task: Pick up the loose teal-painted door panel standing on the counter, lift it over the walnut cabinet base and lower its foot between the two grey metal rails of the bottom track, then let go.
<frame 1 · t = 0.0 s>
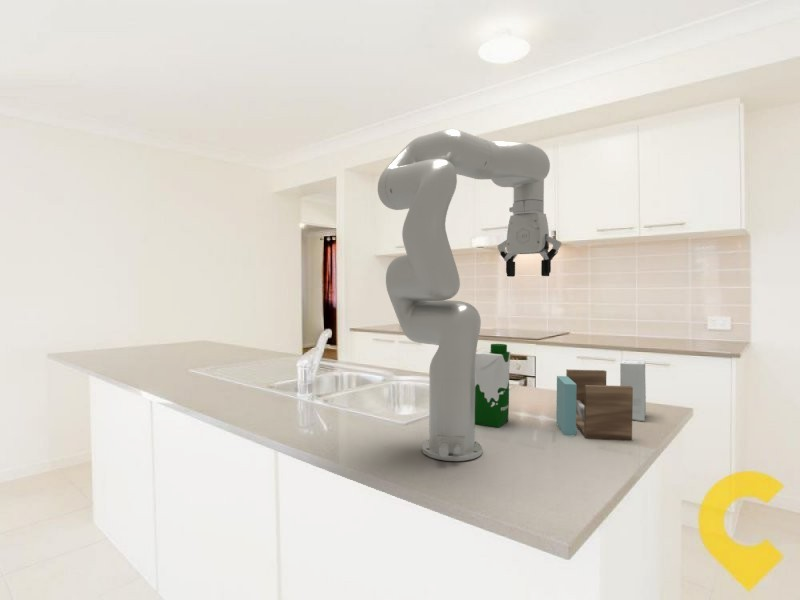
hand: (527, 276, 124), 37 cm above the worktop, tool pointing down, fingers open, 9 cm apart
door panel: (565, 429, 117), on the worktop
milk carton: (490, 423, 122), on the worktop
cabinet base: (595, 425, 120), on the worktop
skincare box: (632, 417, 128), on the worktop
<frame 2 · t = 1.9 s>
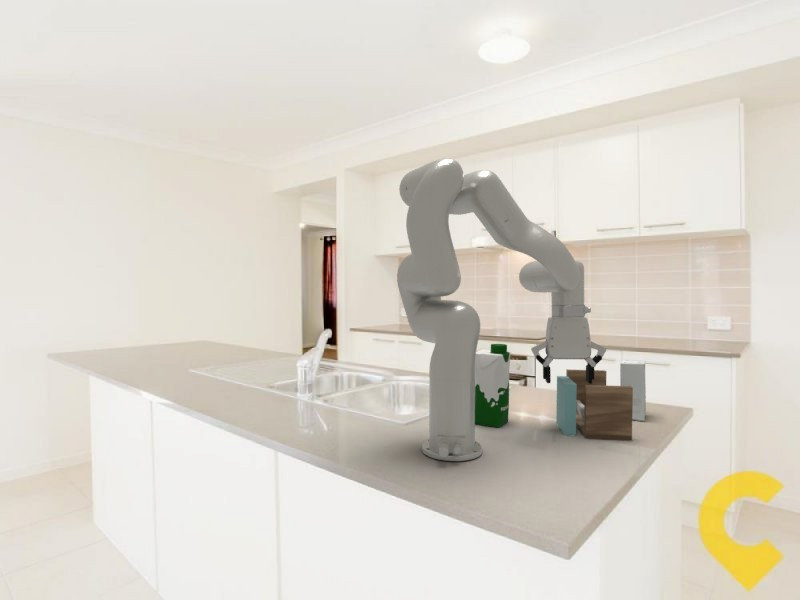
hand: (568, 382, 117), 11 cm above the worktop, tool pointing down, fingers open, 9 cm apart
nothing on the worktop moved.
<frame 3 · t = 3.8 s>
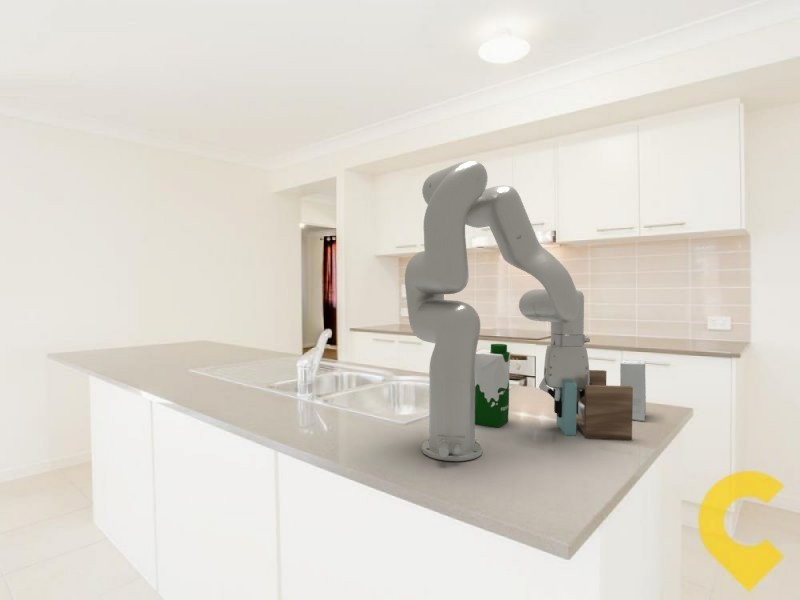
hand: (566, 415, 117), 3 cm above the worktop, tool pointing down, fingers closed on door panel, 2 cm apart
door panel: (565, 428, 117), on the worktop, touching gripper
everything else where it was.
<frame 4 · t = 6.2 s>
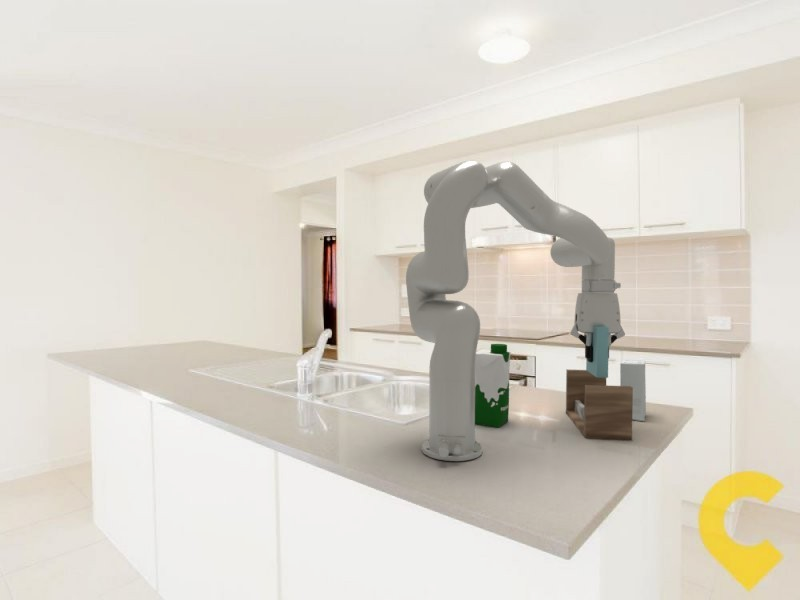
hand: (596, 360, 119), 16 cm above the worktop, tool pointing down, fingers closed on door panel, 2 cm apart
door panel: (596, 373, 119), point 13 cm above the worktop, touching gripper
everything else where it was.
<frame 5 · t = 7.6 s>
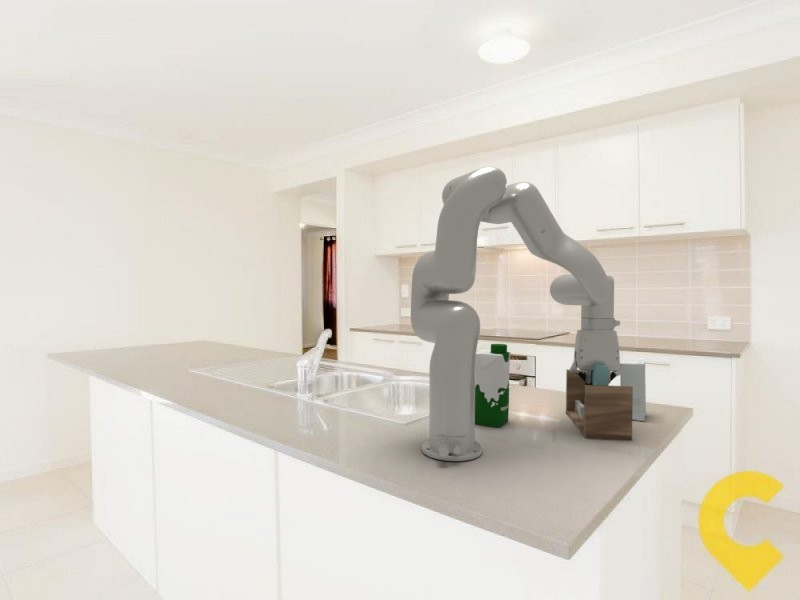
hand: (596, 398, 119), 7 cm above the worktop, tool pointing down, fingers closed on door panel, 2 cm apart
door panel: (596, 410, 119), point 4 cm above the worktop, touching gripper
everything else where it was.
when the fingers open (6 cm above the worktop, at t = 8.5 s): door panel drops 1 cm, resting on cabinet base.
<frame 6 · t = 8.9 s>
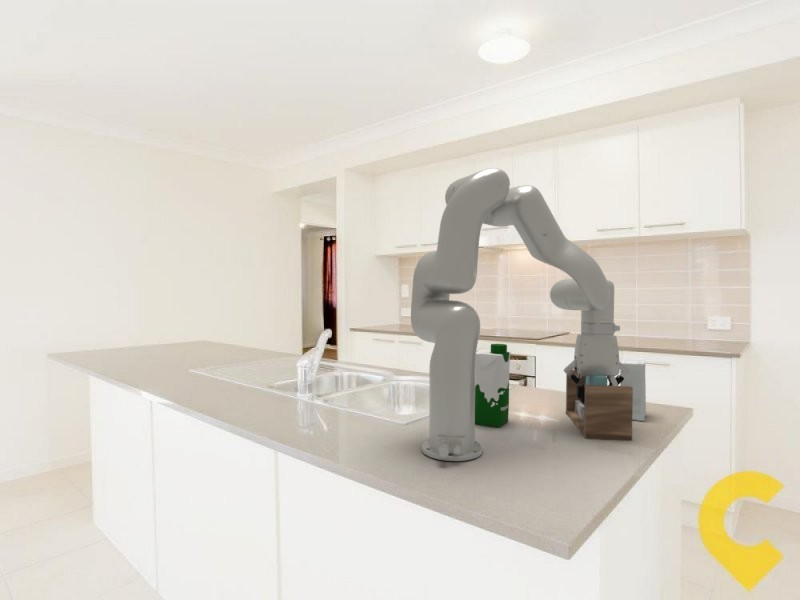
hand: (596, 401, 119), 6 cm above the worktop, tool pointing down, fingers open, 6 cm apart
door panel: (595, 421, 120), point 1 cm above the worktop, touching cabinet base
everything else where it was.
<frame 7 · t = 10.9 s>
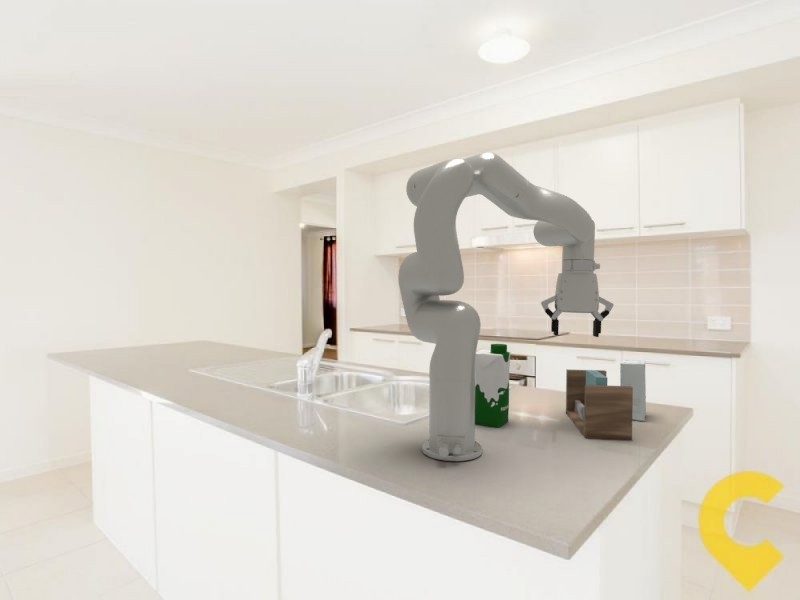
hand: (575, 335, 121), 22 cm above the worktop, tool pointing down, fingers open, 9 cm apart
nothing on the worktop moved.
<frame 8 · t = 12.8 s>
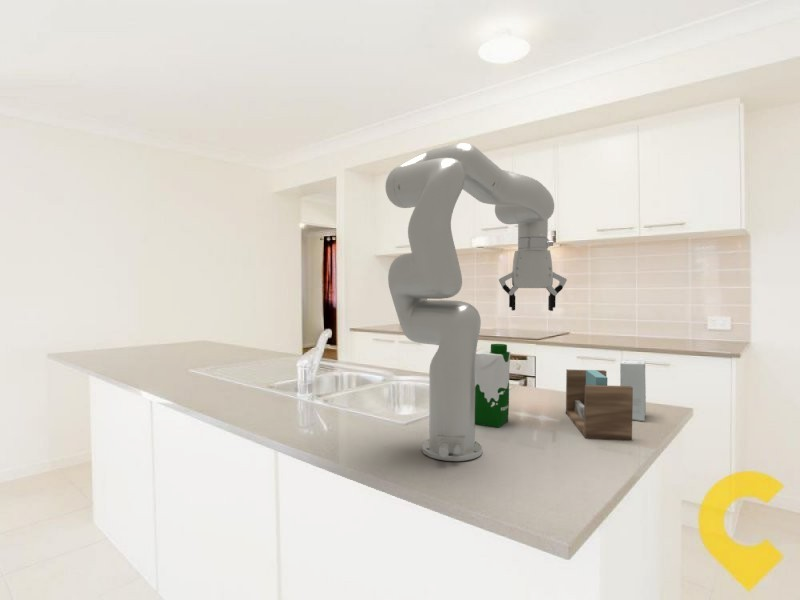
hand: (531, 310, 127), 28 cm above the worktop, tool pointing down, fingers open, 9 cm apart
nothing on the worktop moved.
at the end: door panel inside the target area on the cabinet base (0.1 cm from its centre), point 1.0 cm above the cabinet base's base; door panel tilted 0°; the gripper is holding nothing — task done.
